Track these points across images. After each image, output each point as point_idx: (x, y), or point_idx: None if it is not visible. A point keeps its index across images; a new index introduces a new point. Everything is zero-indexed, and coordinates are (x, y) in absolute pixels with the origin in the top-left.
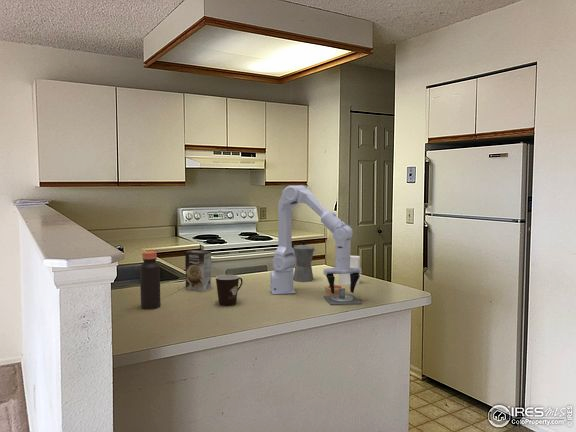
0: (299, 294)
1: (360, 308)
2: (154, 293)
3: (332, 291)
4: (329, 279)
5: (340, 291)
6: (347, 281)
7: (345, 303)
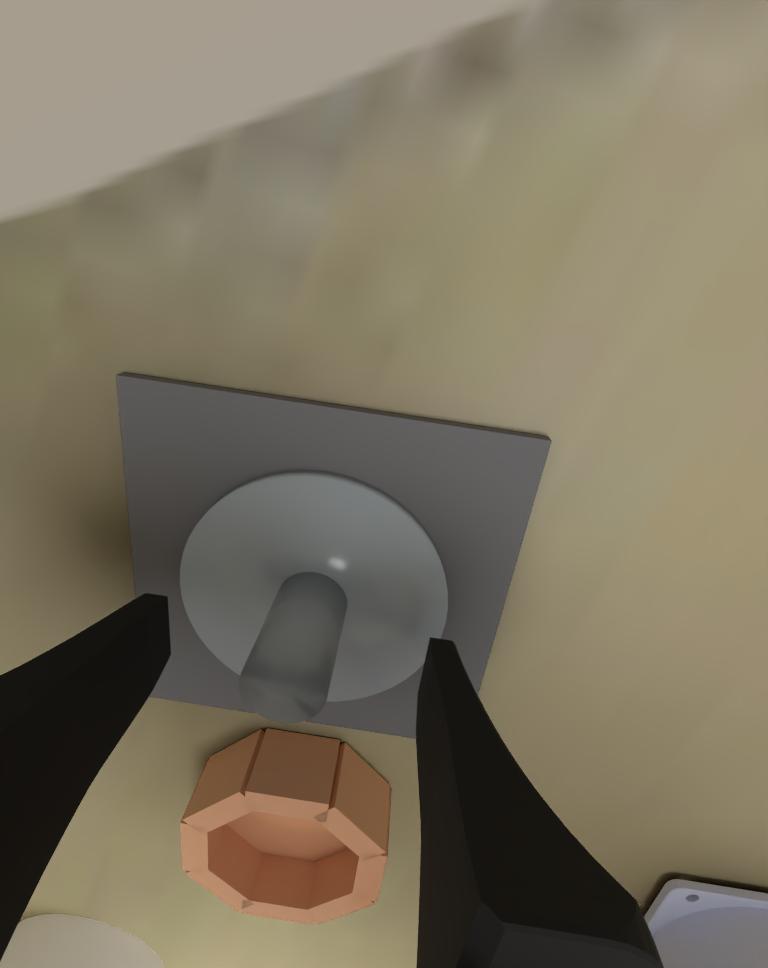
0: (643, 849)
1: (202, 164)
2: None
3: (459, 658)
4: (604, 870)
5: (326, 648)
6: (99, 964)
7: (343, 416)
